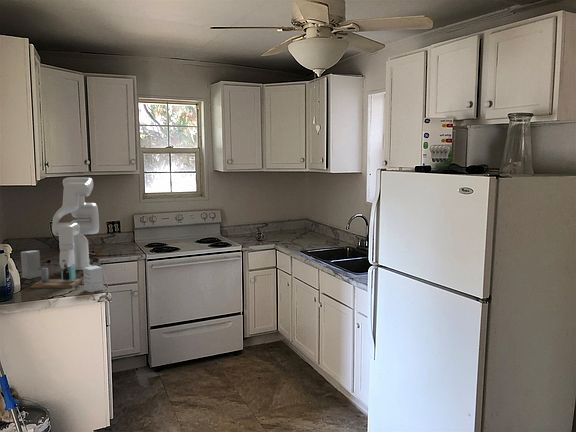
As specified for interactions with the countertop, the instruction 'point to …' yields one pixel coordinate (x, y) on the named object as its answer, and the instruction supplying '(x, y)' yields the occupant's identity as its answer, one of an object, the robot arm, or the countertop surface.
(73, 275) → the turquoise block
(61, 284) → the walnut base board
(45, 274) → the dark steel post
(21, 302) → the countertop surface
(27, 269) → the skincare box
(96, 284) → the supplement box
